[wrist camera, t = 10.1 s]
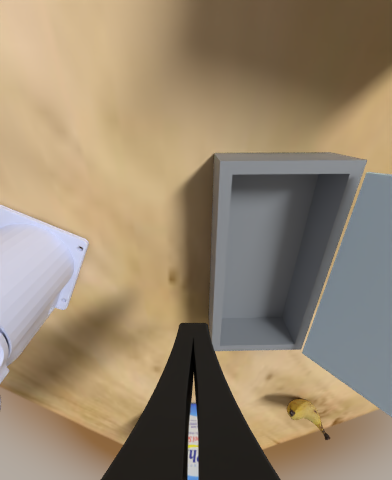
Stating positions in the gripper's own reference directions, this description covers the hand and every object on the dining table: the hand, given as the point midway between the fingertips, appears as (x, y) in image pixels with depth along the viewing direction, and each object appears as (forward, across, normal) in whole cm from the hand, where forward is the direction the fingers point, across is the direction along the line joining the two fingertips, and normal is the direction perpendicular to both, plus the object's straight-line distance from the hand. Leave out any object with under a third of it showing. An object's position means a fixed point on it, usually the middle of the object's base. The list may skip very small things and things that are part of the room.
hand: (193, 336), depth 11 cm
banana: (+11, -16, +28) cm, 34 cm away
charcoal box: (+10, -6, +2) cm, 12 cm away
